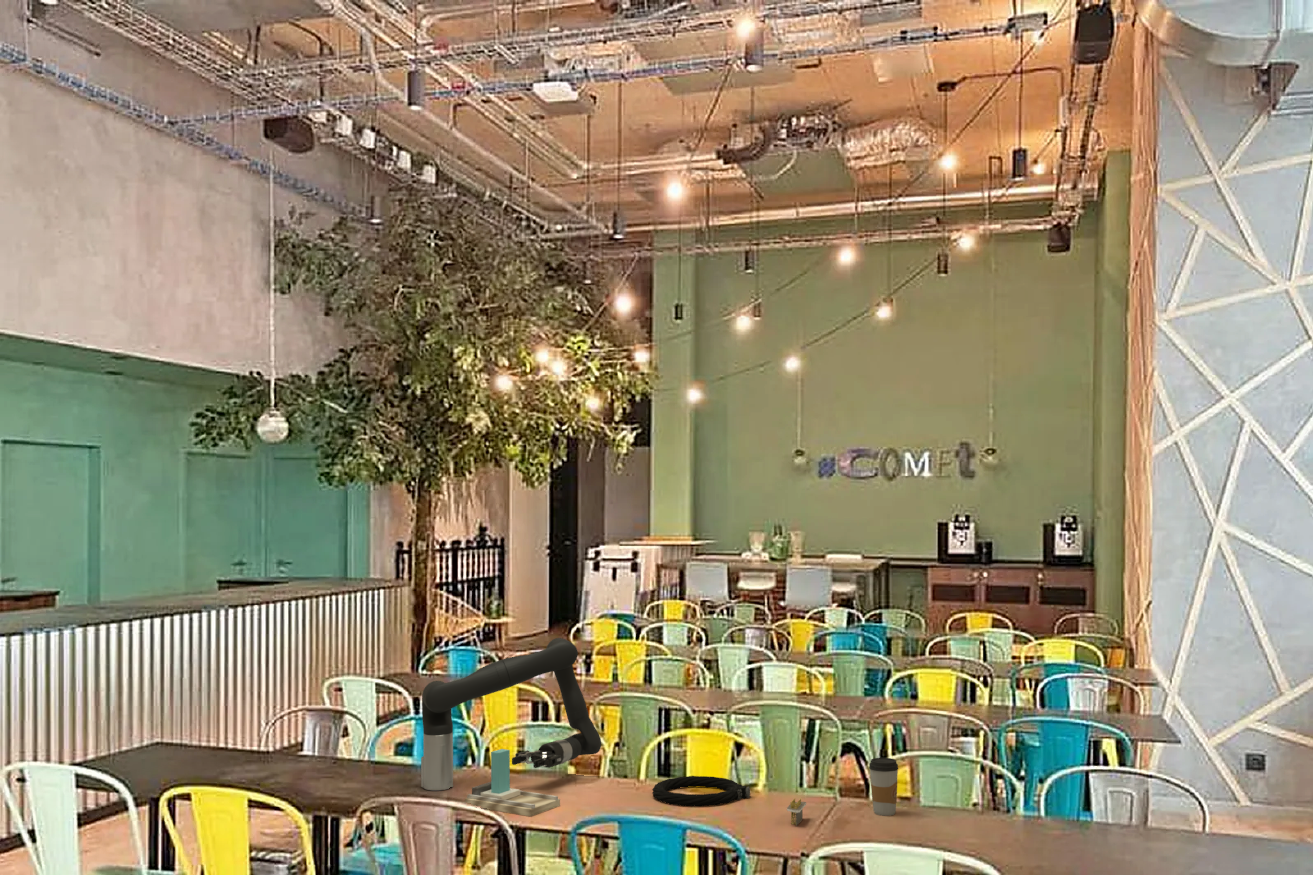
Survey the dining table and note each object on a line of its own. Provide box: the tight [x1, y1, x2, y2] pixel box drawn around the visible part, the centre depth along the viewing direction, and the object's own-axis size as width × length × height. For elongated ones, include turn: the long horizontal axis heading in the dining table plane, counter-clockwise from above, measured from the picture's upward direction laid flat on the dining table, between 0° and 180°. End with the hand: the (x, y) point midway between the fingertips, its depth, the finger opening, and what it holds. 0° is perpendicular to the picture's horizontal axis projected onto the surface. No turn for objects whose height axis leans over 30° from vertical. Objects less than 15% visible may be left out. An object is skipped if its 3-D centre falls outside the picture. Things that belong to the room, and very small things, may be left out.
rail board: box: [464, 781, 561, 817], centre depth 368 cm, size 25×14×5 cm, turn 58°
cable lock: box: [651, 775, 751, 807], centre depth 377 cm, size 28×4×30 cm
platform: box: [786, 797, 807, 827], centre depth 346 cm, size 12×18×7 cm, turn 161°
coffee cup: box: [868, 757, 899, 817], centre depth 355 cm, size 8×8×15 cm
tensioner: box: [481, 748, 521, 800], centre depth 371 cm, size 8×9×14 cm
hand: (523, 763), depth 380 cm, fingers open, 8 cm apart
